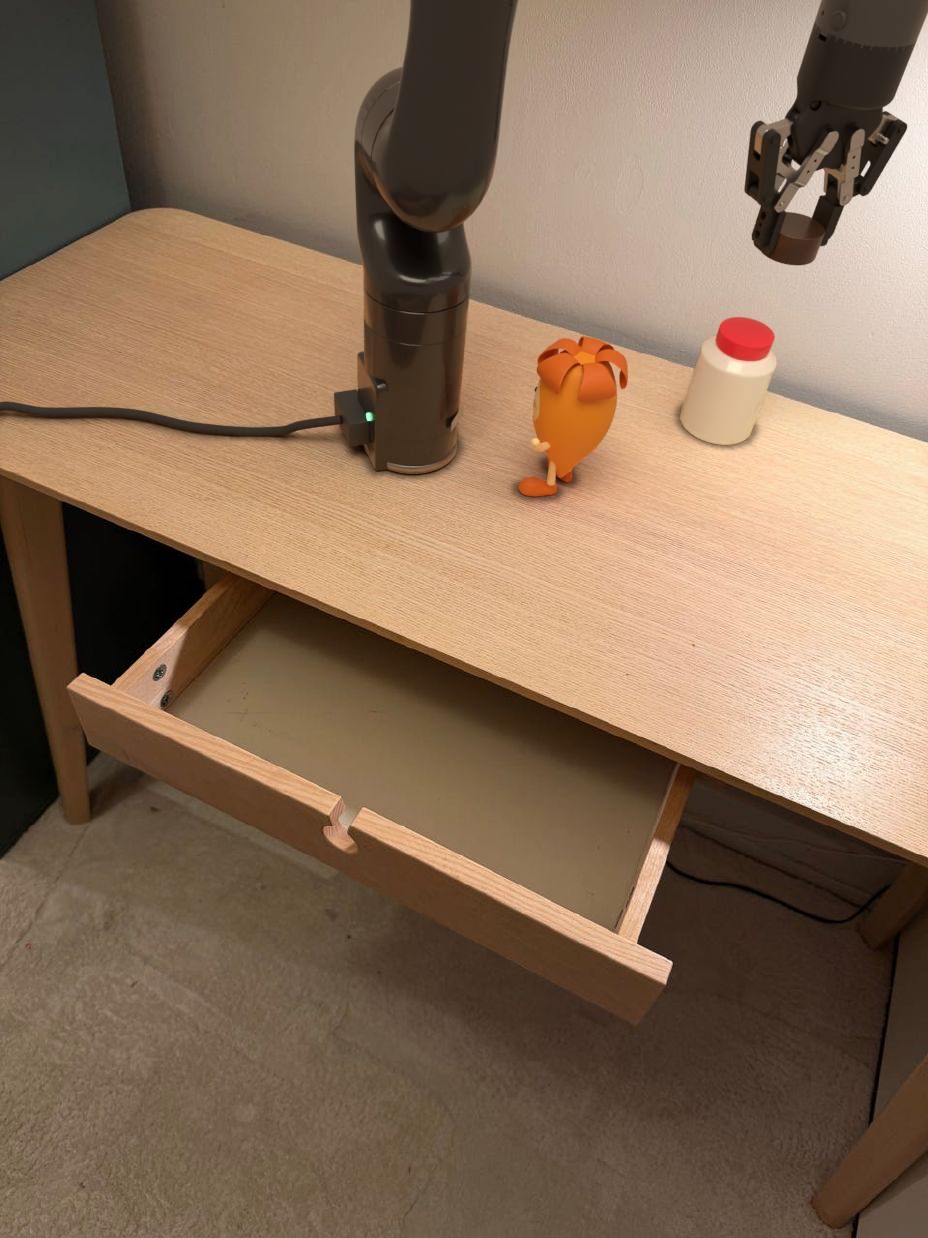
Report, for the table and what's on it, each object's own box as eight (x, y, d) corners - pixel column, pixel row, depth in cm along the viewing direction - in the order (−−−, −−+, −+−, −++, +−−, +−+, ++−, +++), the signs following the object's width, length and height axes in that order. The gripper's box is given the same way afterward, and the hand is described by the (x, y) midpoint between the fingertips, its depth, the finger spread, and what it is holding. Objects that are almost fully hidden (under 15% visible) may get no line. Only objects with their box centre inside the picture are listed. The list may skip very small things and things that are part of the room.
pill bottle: (761, 419, 99) (797, 328, 91) (736, 454, 95) (770, 362, 86) (696, 392, 101) (725, 302, 93) (668, 426, 97) (696, 334, 89)
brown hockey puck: (779, 268, 78) (788, 241, 77) (747, 240, 81) (756, 214, 80) (826, 262, 80) (837, 235, 78) (794, 235, 83) (803, 209, 81)
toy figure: (558, 441, 94) (584, 308, 82) (624, 475, 91) (660, 342, 80) (491, 498, 87) (509, 362, 76) (560, 537, 84) (590, 402, 73)
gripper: (911, 5, 72) (829, 218, 84) (758, 10, 68) (697, 233, 80) (976, 38, 67) (880, 258, 80) (817, 45, 63) (742, 275, 76)
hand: (788, 244), depth 80 cm, fingers closed on brown hockey puck, 5 cm apart
